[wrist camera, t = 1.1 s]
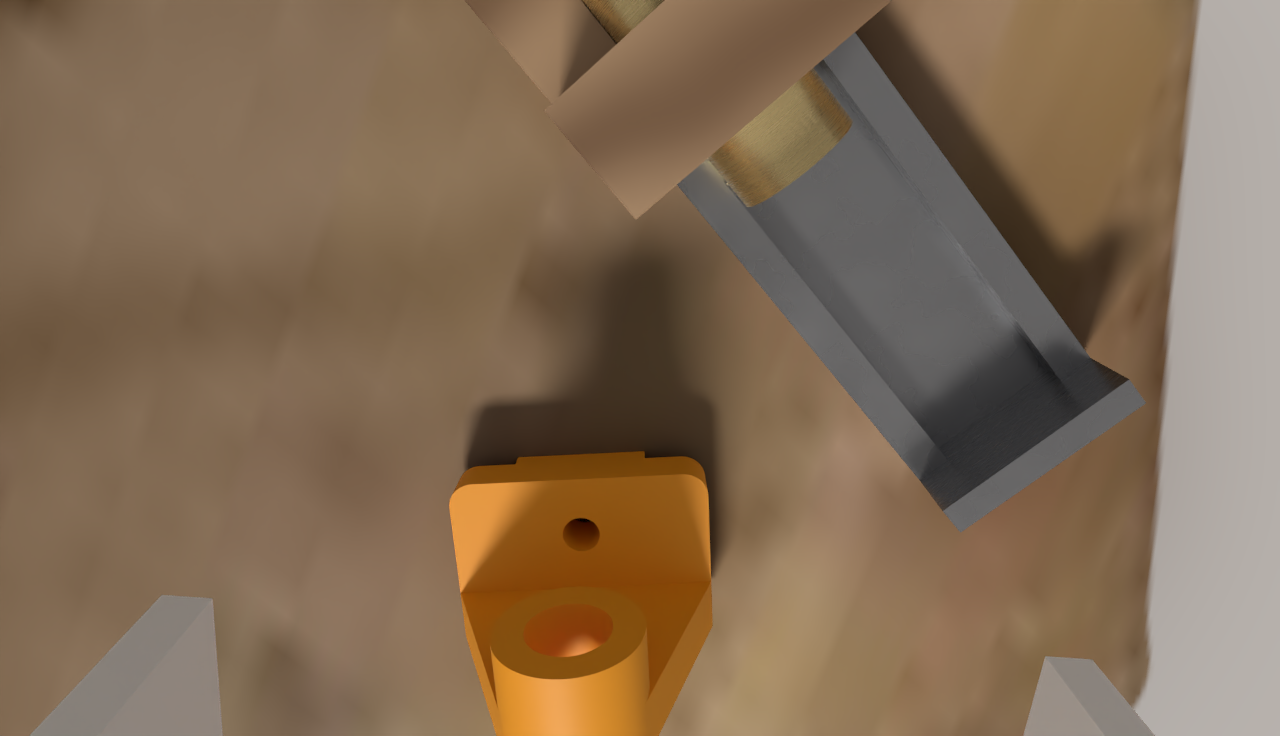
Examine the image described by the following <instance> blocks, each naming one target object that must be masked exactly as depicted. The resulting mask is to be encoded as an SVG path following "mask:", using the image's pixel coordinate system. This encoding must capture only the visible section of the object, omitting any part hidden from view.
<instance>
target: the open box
mask: <svg viewBox="0 0 1280 736" xmlns="http://www.w3.org/2000/svg"><path fill="white" fill-rule="evenodd" d="M465 1H466V3H467V4H468V5H469V6H470V7H471V9H472V10H473V11H474V12H475V13H476V15H477V16H478V17H479V18H480V19H481V20H482V22H483V23H484V24H485V25H486V26H487V28H488V29H489V30H490V31H491V32H492V34H493V35H494V36H495V37H496V38H497V40H498V41H499V42H500V43H501V44H502V45H503V47H504V48H505V49H506V50H507V51H508V53H509V54H510V55H511V56H512V57H513V59H514V60H515V61H516V62H517V63H518V64H519V66H520V67H521V68H522V69H523V70H524V72H525V73H526V74H527V75H528V76H529V78H530V79H531V80H532V81H533V82H534V84H535V85H536V86H537V87H538V88H539V89H540V91H541V92H542V93H543V94H544V95H545V97H546V98H547V99H548V100H549V101H550V103H551V105H550V106H549V107H547V108H546V109H545V110H544V112H545V113H546V114H547V115H548V116H549V118H550V119H551V120H552V121H553V122H554V124H555V125H556V126H557V127H558V128H559V129H560V131H561V132H562V133H563V134H564V135H565V137H566V138H567V139H568V140H569V141H570V142H571V144H572V145H573V146H574V147H575V148H576V150H577V151H578V152H579V153H580V154H581V156H582V157H583V158H584V159H585V160H586V161H587V163H588V164H589V165H590V166H591V167H592V169H593V170H594V171H595V172H596V173H597V174H598V176H599V177H600V178H601V179H602V180H603V182H604V183H605V184H606V185H607V186H608V187H609V189H610V190H611V191H612V192H613V193H614V195H615V196H616V197H617V198H618V199H619V200H620V202H621V203H622V204H623V205H624V206H625V208H626V209H627V210H628V211H629V212H630V214H631V215H632V216H633V217H634V218H635V219H637V218H639V217H640V216H641V215H642V214H643V213H644V212H646V211H647V210H648V209H649V208H650V207H651V206H653V205H654V204H655V203H656V202H657V201H658V200H660V199H661V198H662V197H663V196H664V195H665V194H667V193H668V192H669V191H670V190H671V189H672V188H674V187H675V186H676V185H677V184H678V183H679V182H681V181H682V180H683V179H684V178H685V177H686V176H688V175H689V174H690V173H691V172H692V171H693V170H695V169H696V168H697V167H698V166H699V165H700V164H702V163H703V162H704V161H705V160H706V159H707V158H709V157H710V156H711V155H712V154H713V153H714V152H716V151H717V150H718V149H719V148H720V147H721V146H723V145H724V144H725V143H726V142H727V141H728V140H730V139H731V138H732V137H733V136H734V135H735V134H737V133H738V132H739V131H740V130H741V129H742V128H744V127H745V126H746V125H747V124H748V123H749V122H751V121H752V120H753V119H754V118H755V117H756V116H758V115H759V114H760V113H761V112H762V111H763V110H765V109H766V108H767V107H768V106H769V105H770V104H772V103H773V102H774V101H775V100H776V99H777V98H779V97H780V96H781V95H782V94H783V93H784V92H786V91H787V90H788V89H789V88H790V87H791V86H793V85H794V84H795V83H796V82H797V81H798V80H800V79H801V78H802V77H803V76H804V75H805V74H807V73H808V72H809V71H810V70H811V69H812V68H814V67H815V66H816V65H817V64H818V63H819V62H821V61H822V60H823V59H824V58H825V57H826V56H828V55H829V54H830V53H831V52H832V51H833V50H835V49H836V48H837V47H838V46H839V45H840V44H842V43H843V42H844V41H845V40H846V39H847V38H849V37H850V36H851V35H852V34H853V33H854V32H856V31H857V30H858V29H859V28H860V27H861V26H863V25H864V24H865V23H866V22H867V21H868V20H870V19H871V18H872V17H873V16H874V15H875V14H877V13H878V12H879V11H880V10H881V9H882V8H884V7H885V6H886V5H887V4H888V3H889V2H891V1H892V0H664V1H663V2H662V3H661V4H660V5H659V6H658V7H657V8H656V9H655V10H654V11H652V12H651V13H650V14H649V15H648V16H647V17H646V18H645V19H644V20H643V21H642V22H640V23H639V24H638V25H637V26H636V27H635V28H634V29H633V30H632V31H631V32H629V33H628V34H627V35H626V36H625V37H624V38H623V39H622V40H621V41H620V42H619V43H617V44H616V43H615V42H614V41H613V40H612V38H611V37H610V36H609V35H608V33H607V32H606V31H605V30H604V28H603V27H602V26H601V25H600V23H599V22H598V21H597V20H596V18H595V17H594V16H593V15H592V13H591V12H590V11H589V10H588V8H587V7H586V6H585V5H584V3H583V2H582V1H581V0H465Z"/></svg>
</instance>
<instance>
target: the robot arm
mask: <svg viewBox="0 0 1280 736" xmlns="http://www.w3.org/2000/svg"><path fill="white" fill-rule="evenodd" d="M30 736H223V734H222V721H221V707H220V694H219V680H218V666H217V653H216V639H215V625H214V612H213V598H198V597H184V596H169V595H161V596H160V598H159V599H158V600H157V601H156V602H155V603H154V604H153V605H152V606H151V607H150V608H149V609H148V610H147V611H146V612H145V613H144V615H143V616H142V617H141V618H140V619H139V620H138V621H137V622H136V623H135V624H134V625H133V626H132V627H131V628H130V629H129V630H128V632H127V633H126V634H125V635H124V636H123V637H122V638H121V639H120V640H119V641H118V642H117V643H116V644H115V645H114V646H113V647H112V649H111V650H110V651H109V652H108V653H107V654H106V655H105V656H104V657H103V658H102V659H101V660H100V661H99V662H98V663H97V664H96V666H95V667H94V668H93V669H92V670H91V671H90V672H89V673H88V674H87V675H86V676H85V677H84V678H83V679H82V680H81V681H80V683H79V684H78V685H77V686H76V687H75V688H74V689H73V690H72V691H71V692H70V693H69V694H68V695H67V696H66V697H65V698H64V700H63V701H62V702H61V703H60V704H59V705H58V706H57V707H56V708H55V709H54V710H53V711H52V712H51V713H50V714H49V715H48V717H47V718H46V719H45V720H44V721H43V722H42V723H41V724H40V725H39V726H38V727H37V728H36V729H35V730H34V731H33V732H32V734H31V735H30ZM1024 736H1155V735H1154V734H1153V733H1152V732H1151V730H1150V729H1149V728H1148V727H1147V725H1146V724H1145V723H1144V722H1143V721H1142V720H1141V719H1140V717H1139V716H1138V715H1137V713H1136V712H1135V711H1134V710H1133V709H1132V707H1131V706H1130V705H1129V704H1128V702H1127V701H1126V700H1125V699H1124V698H1123V696H1122V695H1121V694H1120V693H1119V692H1118V690H1117V689H1116V688H1115V687H1114V686H1113V684H1112V683H1111V682H1110V681H1109V679H1108V678H1107V677H1106V676H1105V675H1104V673H1103V672H1102V671H1101V670H1100V669H1099V667H1098V666H1097V665H1096V664H1095V663H1094V661H1093V660H1091V659H1076V658H1062V657H1047V656H1045V660H1044V663H1043V667H1042V671H1041V674H1040V678H1039V681H1038V685H1037V689H1036V692H1035V696H1034V699H1033V703H1032V707H1031V710H1030V714H1029V717H1028V721H1027V725H1026V728H1025V732H1024Z"/></svg>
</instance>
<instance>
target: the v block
mask: <svg viewBox="0 0 1280 736" xmlns="http://www.w3.org/2000/svg"><path fill="white" fill-rule="evenodd" d="M814 69H815V71H816V72H817V73H818V75H819V76H820V77H821V79H822V80H823V81H824V83H825V84H826V85H827V87H828V88H829V89H830V91H831V92H832V93H833V95H834V96H835V98H836V99H837V100H838V102H839V103H840V104H841V106H842V107H843V108H844V110H845V111H846V112H847V114H848V115H849V116H850V118H851V119H852V120H853V124H852V126H851V128H850V129H849V131H848V132H847V133H846V135H845V136H844V137H843V138H842V139H841V140H840V141H839V142H838V143H837V144H836V145H835V146H834V147H833V148H832V149H831V150H830V151H829V152H828V153H827V154H826V155H825V156H824V157H823V158H822V159H821V160H819V161H818V162H817V163H816V164H815V165H814V166H812V167H811V168H810V169H809V170H808V171H806V172H805V173H804V174H803V175H801V176H800V177H799V178H797V179H796V180H795V181H793V182H792V183H791V184H789V185H788V186H787V187H785V188H784V189H782V190H781V191H779V192H778V193H776V194H775V195H773V196H772V197H770V198H769V199H767V200H765V201H763V202H761V203H759V204H757V205H755V206H752V207H746V205H745V204H744V203H743V202H742V200H741V199H740V198H739V197H738V195H737V194H736V193H735V192H734V190H733V189H732V188H731V187H730V185H729V184H728V183H727V182H726V180H725V179H724V178H723V177H722V175H721V174H720V173H719V172H718V170H717V169H716V168H715V167H714V165H713V164H712V163H711V162H710V160H709V159H708V158H707V159H706V160H705V161H704V162H703V163H702V164H700V165H699V166H698V167H697V168H696V169H695V170H693V171H692V172H691V173H690V174H689V175H688V176H686V177H685V178H684V179H683V180H682V181H681V182H679V183H678V184H677V185H678V186H679V188H680V189H681V190H682V191H683V192H684V194H685V195H686V196H687V197H688V198H689V200H690V201H691V202H692V203H693V205H694V206H695V207H696V208H697V209H698V211H699V212H700V213H701V214H702V216H703V217H704V218H705V219H706V220H707V222H708V223H709V224H710V225H711V227H712V228H713V229H714V230H715V231H716V233H717V234H718V235H719V236H720V237H721V239H722V240H723V241H724V242H725V244H726V245H727V246H728V247H729V248H730V250H731V251H732V252H733V253H734V255H735V256H736V257H737V258H738V259H739V261H740V262H741V263H742V264H743V266H744V267H745V268H746V269H747V270H748V272H749V273H750V274H751V275H752V276H753V278H754V279H755V280H756V281H757V283H758V284H759V285H760V286H761V287H762V289H763V290H764V291H765V292H766V294H767V295H768V296H769V297H770V298H771V300H772V301H773V302H774V303H775V304H776V306H777V307H778V308H779V309H780V311H781V312H782V313H783V314H784V315H785V317H786V318H787V319H788V320H789V322H790V323H791V324H792V325H793V326H794V328H795V329H796V330H797V331H798V333H799V334H800V335H801V336H802V337H803V339H804V340H805V341H806V342H807V343H808V345H809V346H810V347H811V348H812V350H813V351H814V352H815V353H816V354H817V356H818V357H819V358H820V359H821V361H822V362H823V363H824V364H825V365H826V367H827V368H828V369H829V370H830V372H831V373H832V374H833V375H834V376H835V378H836V379H837V380H838V381H839V382H840V384H841V385H842V386H843V387H844V389H845V390H846V391H847V392H848V393H849V395H850V396H851V397H852V398H853V400H854V401H855V402H856V403H857V404H858V406H859V407H860V408H861V409H862V411H863V412H864V413H865V414H866V415H867V417H868V418H869V419H870V420H871V421H872V423H873V424H874V425H875V426H876V428H877V429H878V430H879V431H880V432H881V434H882V435H883V436H884V437H885V439H886V440H887V441H888V442H889V443H890V445H891V446H892V447H893V448H894V449H895V451H896V452H897V453H898V454H899V456H900V457H901V458H902V459H903V460H904V462H905V463H906V464H907V465H908V467H909V468H910V469H911V470H912V471H913V473H914V474H915V475H916V476H917V478H918V479H919V480H920V481H921V483H922V484H923V485H924V487H925V488H926V489H927V491H928V492H929V493H930V495H931V496H932V497H933V499H934V500H935V501H936V503H937V504H938V505H939V507H940V508H941V509H942V511H943V512H944V513H945V514H946V515H947V517H948V518H949V519H950V520H951V522H952V523H953V524H954V525H955V526H956V528H957V529H958V530H959V531H960V532H962V531H963V530H965V529H966V528H967V527H969V526H970V525H972V524H973V523H975V522H976V521H978V520H979V519H980V518H982V517H983V516H985V515H986V514H988V513H989V512H990V511H992V510H993V509H995V508H996V507H998V506H999V505H1000V504H1002V503H1003V502H1005V501H1006V500H1008V499H1009V498H1011V497H1012V496H1013V495H1015V494H1016V493H1018V492H1019V491H1021V490H1022V489H1023V488H1025V487H1026V486H1028V485H1029V484H1031V483H1032V482H1033V481H1035V480H1036V479H1038V478H1039V477H1041V476H1042V475H1044V474H1045V473H1046V472H1048V471H1049V470H1051V469H1052V468H1054V467H1055V466H1056V465H1058V464H1059V463H1061V462H1062V461H1064V460H1065V459H1067V458H1068V457H1069V456H1071V455H1072V454H1074V453H1075V452H1077V451H1078V450H1079V449H1081V448H1082V447H1084V446H1085V445H1087V444H1088V443H1089V442H1091V441H1092V440H1094V439H1095V438H1097V437H1098V436H1100V435H1101V434H1102V433H1104V432H1105V431H1107V430H1108V429H1110V428H1111V427H1112V426H1114V425H1115V424H1117V423H1118V422H1120V421H1121V420H1122V419H1124V418H1125V417H1127V416H1128V415H1130V414H1131V413H1133V412H1134V411H1135V410H1137V409H1138V408H1140V407H1141V406H1143V405H1144V404H1145V403H1146V402H1145V401H1144V400H1143V398H1142V397H1141V395H1140V394H1139V393H1138V391H1137V390H1136V388H1135V387H1134V386H1133V384H1132V383H1131V381H1130V380H1129V379H1127V378H1126V377H1124V376H1122V375H1120V374H1118V373H1117V372H1115V371H1113V370H1111V369H1109V368H1108V367H1106V366H1104V365H1102V364H1100V363H1099V362H1097V361H1095V360H1093V359H1091V358H1090V357H1089V356H1088V354H1087V353H1086V351H1085V350H1084V349H1083V347H1082V346H1081V344H1080V343H1079V342H1078V340H1077V339H1076V338H1075V336H1074V335H1073V333H1072V332H1071V331H1070V329H1069V328H1068V326H1067V325H1066V324H1065V322H1064V321H1063V320H1062V318H1061V317H1060V315H1059V314H1058V313H1057V311H1056V310H1055V308H1054V307H1053V306H1052V304H1051V303H1050V302H1049V300H1048V299H1047V297H1046V296H1045V295H1044V293H1043V292H1042V290H1041V289H1040V288H1039V286H1038V285H1037V284H1036V282H1035V281H1034V279H1033V278H1032V277H1031V275H1030V274H1029V272H1028V271H1027V270H1026V268H1025V267H1024V266H1023V264H1022V263H1021V261H1020V260H1019V259H1018V257H1017V256H1016V254H1015V253H1014V252H1013V250H1012V249H1011V248H1010V246H1009V245H1008V243H1007V242H1006V241H1005V239H1004V238H1003V236H1002V235H1001V234H1000V232H999V231H998V230H997V228H996V227H995V225H994V224H993V223H992V221H991V220H990V218H989V217H988V216H987V214H986V213H985V212H984V210H983V209H982V207H981V206H980V205H979V203H978V202H977V200H976V199H975V198H974V196H973V195H972V194H971V192H970V191H969V189H968V188H967V187H966V185H965V184H964V182H963V181H962V180H961V178H960V177H959V176H958V174H957V173H956V171H955V170H954V169H953V167H952V166H951V164H950V163H949V162H948V160H947V159H946V158H945V156H944V155H943V153H942V152H941V151H940V149H939V148H938V146H937V145H936V144H935V142H934V141H933V140H932V138H931V137H930V135H929V134H928V133H927V131H926V130H925V128H924V127H923V126H922V124H921V123H920V122H919V120H918V119H917V117H916V116H915V115H914V113H913V112H912V110H911V109H910V108H909V106H908V105H907V104H906V102H905V101H904V99H903V98H902V97H901V95H900V94H899V92H898V91H897V90H896V88H895V87H894V86H893V84H892V83H891V81H890V80H889V79H888V77H887V76H886V74H885V73H884V72H883V70H882V69H881V68H880V66H879V65H878V63H877V62H876V61H875V59H874V58H873V56H872V55H871V54H870V52H869V51H868V50H867V48H866V47H865V45H864V44H863V43H862V41H861V40H860V38H859V37H858V36H857V34H856V33H855V32H854V33H853V34H852V35H851V36H850V37H849V38H847V39H846V40H845V41H844V42H843V43H842V44H840V45H839V46H838V47H837V48H836V49H835V50H833V51H832V52H831V53H830V54H829V55H828V56H826V57H825V58H824V59H823V60H822V61H821V62H819V63H818V64H817V65H816V66H815V67H814Z"/></svg>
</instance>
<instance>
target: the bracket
mask: <svg viewBox="0 0 1280 736" xmlns="http://www.w3.org/2000/svg"><path fill="white" fill-rule="evenodd" d="M449 508H450V516H451V523H452V531H453V539H454V546H455V554H456V562H457V569H458V577H459V584H460V592H461V600H462V607H463V615H464V622H465V630H466V637H467V640H468V644H469V647H470V650H471V653H472V657H473V660H474V663H475V667H476V670H477V673H478V676H479V680H480V683H481V686H482V689H483V693H484V696H485V699H486V702H487V706H488V709H489V712H490V715H491V719H492V722H493V725H494V729H495V732H496V735H497V736H659V734H660V732H661V730H662V728H663V726H664V723H665V721H666V719H667V717H668V715H669V713H670V711H671V709H672V707H673V705H674V703H675V701H676V699H677V697H678V695H679V693H680V691H681V689H682V687H683V685H684V683H685V681H686V679H687V677H688V675H689V673H690V671H691V669H692V667H693V664H694V662H695V660H696V658H697V656H698V654H699V652H700V650H701V648H702V646H703V644H704V642H705V640H706V638H707V636H708V634H709V632H710V630H711V628H712V626H713V625H712V594H711V562H710V530H709V498H708V490H707V484H706V478H705V473H704V470H703V468H702V466H701V465H700V464H699V463H698V462H697V461H696V460H694V459H692V458H689V457H684V456H678V457H657V458H645V452H644V451H637V452H617V453H596V454H575V455H555V456H534V457H518V459H517V461H516V464H512V465H491V466H476V467H472V468H470V469H468V470H467V471H466V472H464V474H463V475H462V476H461V478H460V480H459V482H458V484H457V486H456V488H455V490H454V492H453V495H452V497H451V499H450V503H449ZM577 518H585V519H588V520H591V521H590V522H581V521H578V520H576V519H577Z"/></svg>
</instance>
